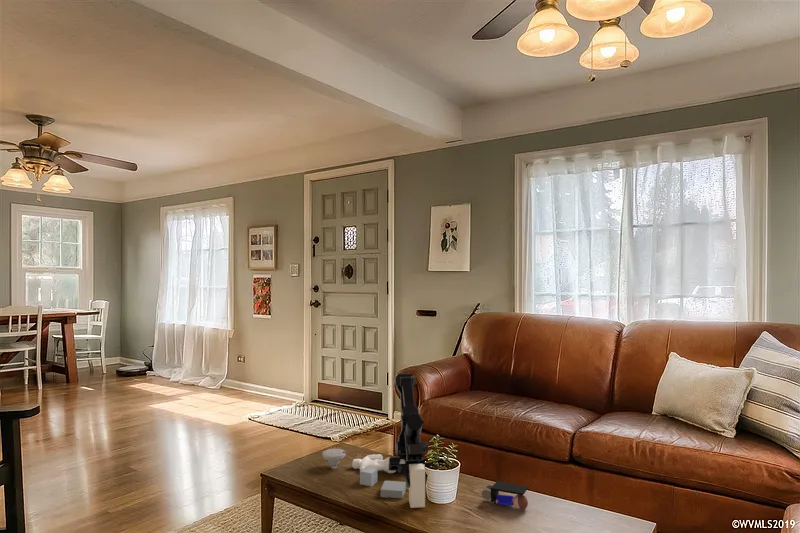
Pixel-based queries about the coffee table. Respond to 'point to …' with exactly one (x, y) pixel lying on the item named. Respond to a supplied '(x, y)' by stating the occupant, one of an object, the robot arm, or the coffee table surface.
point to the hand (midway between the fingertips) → (417, 486)
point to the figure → (372, 463)
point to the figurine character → (517, 501)
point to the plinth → (393, 489)
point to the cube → (368, 476)
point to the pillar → (417, 485)
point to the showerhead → (333, 456)
